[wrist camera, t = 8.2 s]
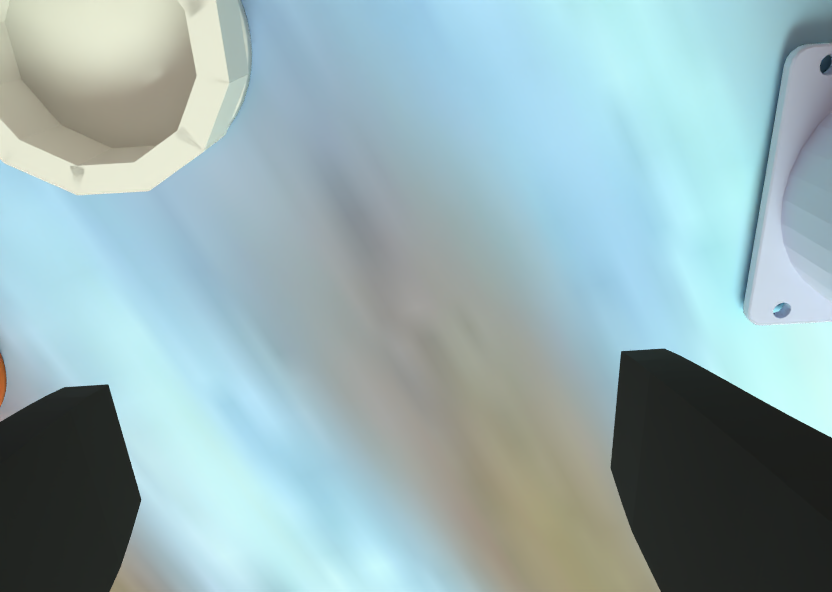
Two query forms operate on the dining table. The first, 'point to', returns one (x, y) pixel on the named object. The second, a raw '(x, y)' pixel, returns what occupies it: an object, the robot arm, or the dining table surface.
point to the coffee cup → (2, 380)
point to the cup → (118, 87)
